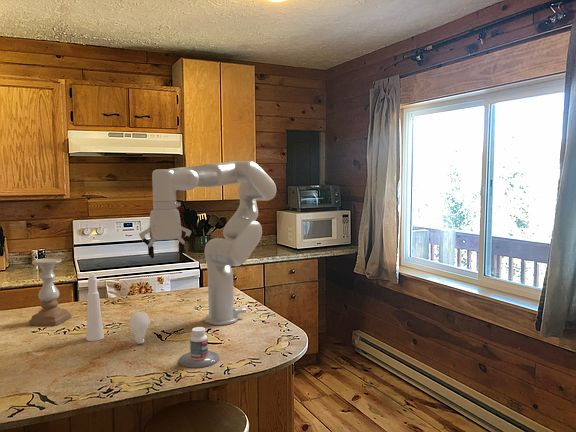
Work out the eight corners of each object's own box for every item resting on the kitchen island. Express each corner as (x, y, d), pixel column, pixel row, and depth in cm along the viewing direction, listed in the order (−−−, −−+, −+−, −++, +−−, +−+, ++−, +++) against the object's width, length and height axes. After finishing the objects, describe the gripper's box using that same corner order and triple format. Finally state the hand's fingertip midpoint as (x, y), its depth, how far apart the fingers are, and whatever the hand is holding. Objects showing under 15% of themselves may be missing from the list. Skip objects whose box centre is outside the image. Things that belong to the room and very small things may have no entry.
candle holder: (71, 317, 191) (68, 257, 188) (55, 326, 180) (52, 263, 177) (45, 316, 192) (42, 257, 189) (28, 325, 181) (24, 262, 178)
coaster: (212, 349, 155) (212, 347, 155) (224, 363, 144) (224, 361, 144) (175, 356, 150) (175, 354, 150) (184, 370, 139) (184, 368, 139)
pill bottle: (204, 361, 144) (203, 332, 143) (187, 360, 145) (186, 331, 144) (210, 354, 149) (209, 326, 148) (194, 353, 150) (194, 325, 149)
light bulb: (139, 349, 156) (137, 316, 155) (125, 345, 160) (123, 312, 158) (154, 342, 162) (153, 310, 161) (141, 339, 165) (139, 307, 164)
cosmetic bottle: (81, 340, 165) (78, 276, 163) (94, 334, 170) (91, 273, 168) (96, 342, 163) (92, 278, 161) (108, 336, 168) (105, 274, 166)
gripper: (187, 204, 169) (189, 252, 171) (136, 206, 162) (138, 256, 164) (193, 205, 163) (194, 256, 164) (140, 208, 155) (142, 260, 157)
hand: (166, 256), depth 164 cm, fingers open, 9 cm apart
